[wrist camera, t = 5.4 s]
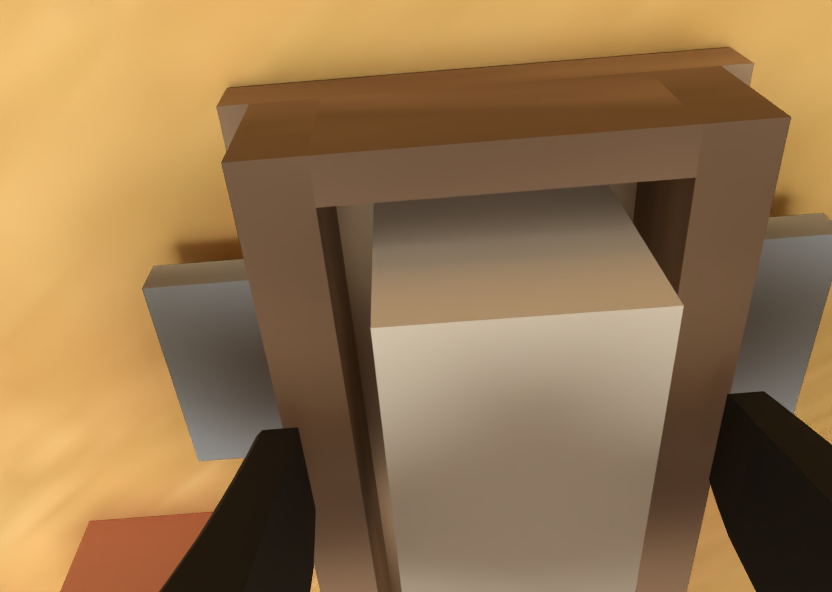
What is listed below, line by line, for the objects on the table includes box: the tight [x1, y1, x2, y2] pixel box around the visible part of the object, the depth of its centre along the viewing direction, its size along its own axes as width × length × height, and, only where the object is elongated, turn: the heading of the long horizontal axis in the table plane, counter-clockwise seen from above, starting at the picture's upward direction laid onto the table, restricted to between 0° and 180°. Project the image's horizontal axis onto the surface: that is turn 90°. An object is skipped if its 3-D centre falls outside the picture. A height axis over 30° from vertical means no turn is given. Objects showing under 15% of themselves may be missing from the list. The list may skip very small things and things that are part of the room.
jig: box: [142, 47, 832, 592], centre depth 16 cm, size 16×13×4 cm
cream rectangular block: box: [371, 184, 684, 592], centre depth 13 cm, size 8×4×4 cm, turn 4°
